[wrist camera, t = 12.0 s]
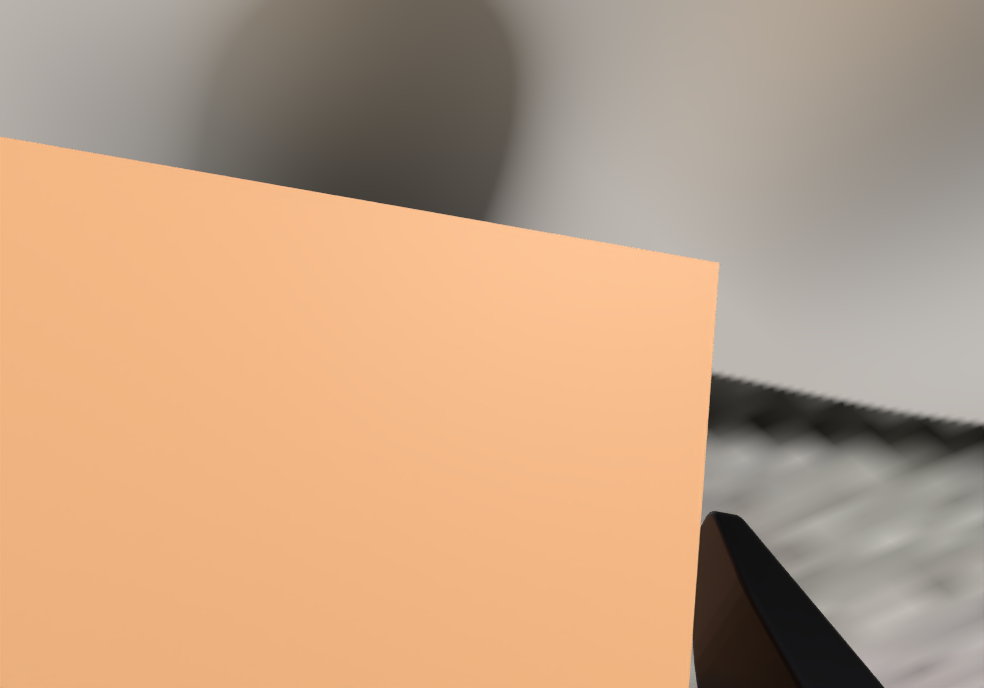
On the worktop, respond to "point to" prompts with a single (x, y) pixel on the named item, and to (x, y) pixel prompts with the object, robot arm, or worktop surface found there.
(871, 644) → the worktop surface
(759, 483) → the worktop surface
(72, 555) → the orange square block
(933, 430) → the worktop surface
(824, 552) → the worktop surface
